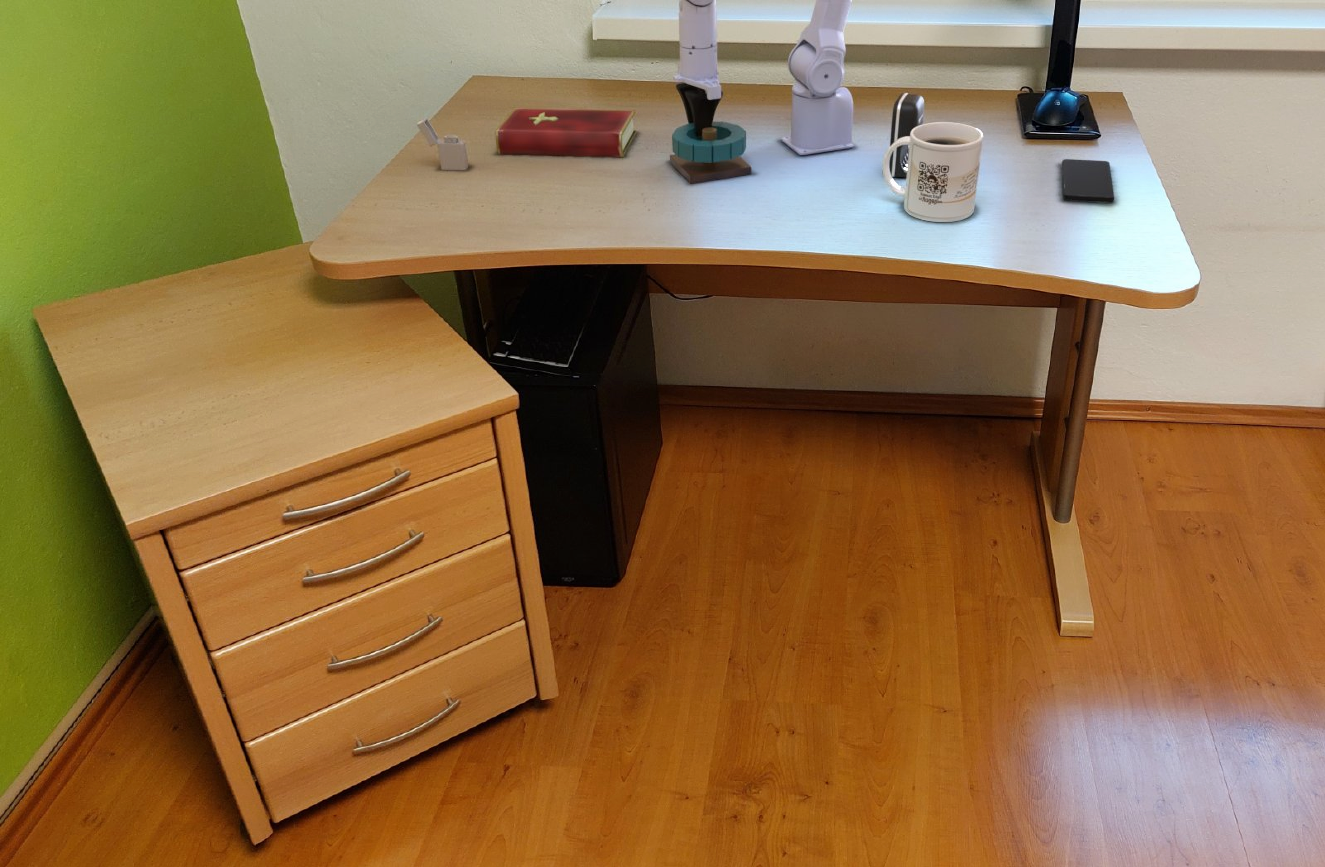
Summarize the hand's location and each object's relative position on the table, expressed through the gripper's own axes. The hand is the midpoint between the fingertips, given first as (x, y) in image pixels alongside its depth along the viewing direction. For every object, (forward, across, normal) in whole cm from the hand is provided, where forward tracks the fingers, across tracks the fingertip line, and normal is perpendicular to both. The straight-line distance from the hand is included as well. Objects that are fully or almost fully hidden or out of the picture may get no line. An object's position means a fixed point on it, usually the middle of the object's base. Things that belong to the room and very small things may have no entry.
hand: (699, 131), depth 179 cm
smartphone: (+4, +33, +49) cm, 59 cm away
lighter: (+5, -12, -39) cm, 41 cm away
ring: (+1, +4, 0) cm, 5 cm away
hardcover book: (+5, -16, -18) cm, 24 cm away
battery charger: (+5, +18, +27) cm, 33 cm away
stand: (+4, +4, 0) cm, 6 cm away
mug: (+5, +32, +24) cm, 40 cm away
